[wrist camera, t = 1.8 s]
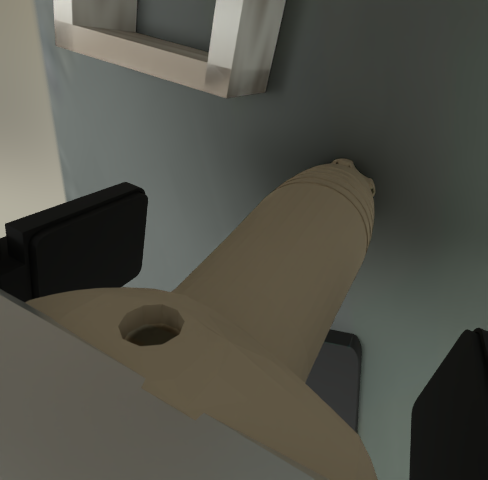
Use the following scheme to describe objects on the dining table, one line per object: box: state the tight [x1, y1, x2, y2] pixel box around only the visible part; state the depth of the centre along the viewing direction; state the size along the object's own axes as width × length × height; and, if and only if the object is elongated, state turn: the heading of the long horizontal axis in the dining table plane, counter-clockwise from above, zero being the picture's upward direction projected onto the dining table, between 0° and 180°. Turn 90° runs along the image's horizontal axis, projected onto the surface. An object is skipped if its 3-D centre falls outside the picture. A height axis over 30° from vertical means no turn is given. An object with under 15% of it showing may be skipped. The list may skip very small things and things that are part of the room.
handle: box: [25, 159, 378, 480], centre depth 11 cm, size 5×6×15 cm
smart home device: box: [305, 330, 362, 433], centre depth 25 cm, size 8×2×20 cm
